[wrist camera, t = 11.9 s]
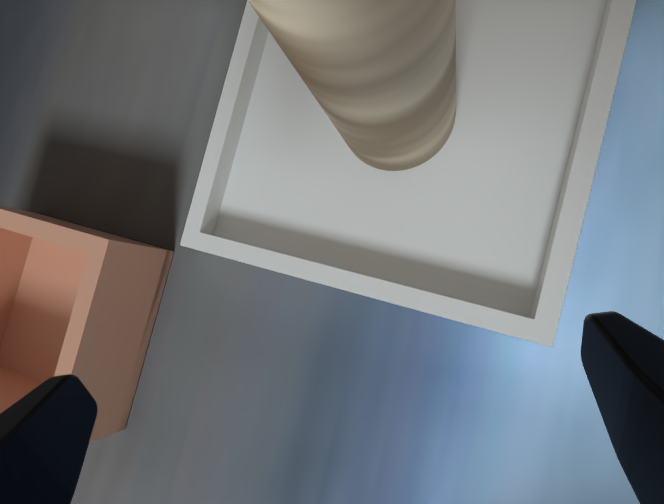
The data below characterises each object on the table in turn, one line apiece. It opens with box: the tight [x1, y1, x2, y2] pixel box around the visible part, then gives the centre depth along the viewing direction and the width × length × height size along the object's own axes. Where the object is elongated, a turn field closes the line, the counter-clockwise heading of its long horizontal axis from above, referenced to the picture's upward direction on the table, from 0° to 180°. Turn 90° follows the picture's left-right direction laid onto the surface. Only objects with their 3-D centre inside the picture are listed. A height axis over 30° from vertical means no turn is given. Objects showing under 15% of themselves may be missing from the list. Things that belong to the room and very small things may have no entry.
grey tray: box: [180, 0, 637, 347], centre depth 20 cm, size 16×16×2 cm
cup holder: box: [0, 205, 174, 442], centre depth 22 cm, size 9×9×4 cm
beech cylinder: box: [248, 0, 456, 171], centre depth 14 cm, size 5×5×12 cm
